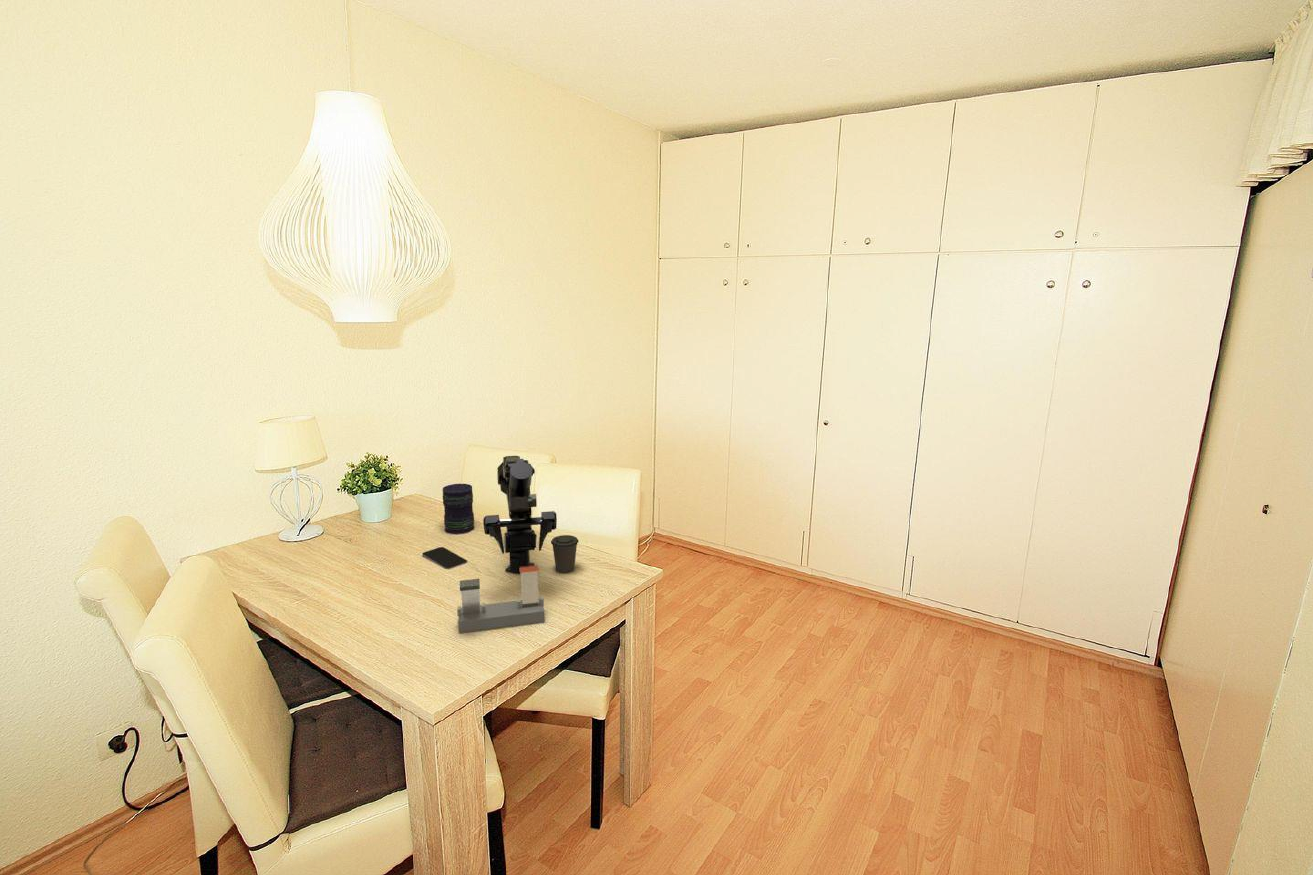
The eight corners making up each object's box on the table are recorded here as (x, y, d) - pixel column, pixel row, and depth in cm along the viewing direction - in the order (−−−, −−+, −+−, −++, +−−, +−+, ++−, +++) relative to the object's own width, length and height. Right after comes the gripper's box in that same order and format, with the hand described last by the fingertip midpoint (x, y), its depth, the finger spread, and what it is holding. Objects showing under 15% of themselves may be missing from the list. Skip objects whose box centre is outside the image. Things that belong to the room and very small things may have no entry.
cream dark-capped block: (462, 607, 141) (459, 580, 137) (480, 605, 142) (479, 578, 138) (461, 614, 139) (459, 587, 135) (481, 612, 140) (479, 585, 136)
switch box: (458, 618, 144) (457, 600, 143) (542, 608, 150) (542, 590, 149) (457, 633, 137) (456, 615, 136) (545, 621, 143) (544, 604, 142)
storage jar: (480, 526, 204) (478, 485, 201) (461, 536, 195) (459, 493, 192) (458, 522, 208) (455, 482, 205) (438, 531, 199) (435, 489, 196)
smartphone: (446, 569, 170) (420, 553, 180) (447, 572, 171) (420, 556, 180) (469, 561, 176) (442, 546, 185) (469, 564, 176) (442, 549, 185)
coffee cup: (545, 571, 171) (544, 539, 168) (562, 561, 178) (561, 530, 175) (568, 577, 167) (567, 545, 165) (584, 567, 174) (584, 535, 172)
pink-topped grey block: (521, 602, 145) (519, 566, 146) (539, 600, 147) (537, 564, 147) (521, 604, 143) (519, 567, 144) (539, 602, 144) (537, 565, 145)
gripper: (481, 485, 150) (481, 539, 141) (555, 481, 154) (559, 534, 145) (485, 507, 159) (484, 560, 150) (554, 503, 163) (558, 554, 154)
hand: (521, 551), depth 150 cm, fingers open, 9 cm apart
